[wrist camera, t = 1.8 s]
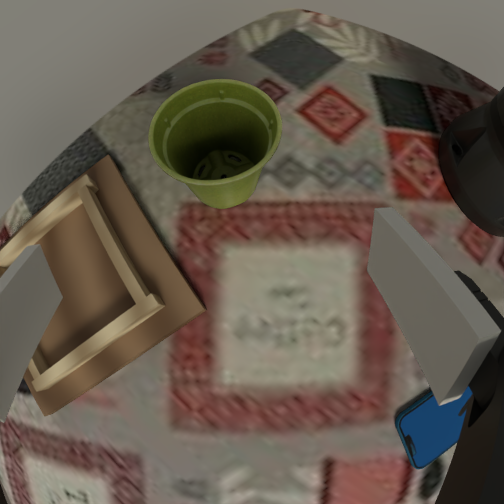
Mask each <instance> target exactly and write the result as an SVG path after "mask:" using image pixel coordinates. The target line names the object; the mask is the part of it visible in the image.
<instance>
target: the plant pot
mask: <svg viewBox="0 0 504 504" xmlns="http://www.w3.org/2000/svg"><path fill="white" fill-rule="evenodd" d="M281 134H282V119H281V116H280V113H279V110H278V108H277V106H276V105H275V103H274V102H273V101H272V99H271V98H270V97H269V96H268V95H267V94H265V93H264V92H263V91H262V90H260V89H258V88H257V87H255V86H252V85H250V84H247V83H244V82H241V81H236V80H231V79H213V80H206V81H201V82H198V83H194V84H191V85H189V86H186V87H184V88H182V89H180V90H179V91H177V92H176V93H174V94H173V95H171V96H170V97H169V98H168V99H167V100H166V101H165V102H163V104H162V105H161V106H160V107H159V109H158V110H157V112H156V113H155V115H154V117H153V119H152V121H151V124H150V128H149V134H148V141H149V147H150V151H151V154H152V156H153V158H154V160H155V162H156V163H157V164H158V166H159V167H160V168H161V169H162V170H163V171H164V172H165V173H167V174H168V175H169V176H171V177H173V178H174V179H176V180H178V181H181V182H183V183H185V184H186V185H187V186H188V187H189V188H190V189H191V191H192V192H193V193H194V194H195V195H196V196H197V197H198V199H199V200H200V201H202V202H203V203H205V204H206V205H208V206H210V207H214V208H219V209H225V208H230V207H233V206H236V205H238V204H241V203H243V202H245V201H246V200H247V199H248V198H249V197H250V196H251V195H252V193H253V192H254V190H255V188H256V185H257V182H258V179H259V176H260V172H261V170H262V167H263V166H264V165H265V164H266V163H267V162H268V161H269V160H270V159H271V157H272V156H273V154H274V153H275V151H276V149H277V147H278V145H279V142H280V139H281ZM230 155H232V156H236V157H238V158H240V159H241V162H238V161H236V160H234V159H230V158H228V156H230ZM203 165H206V167H205V168H204V170H203V171H202V173H201V175H200V177H199V176H198V172H199V170H200V168H201V167H202V166H203ZM223 174H225V175H226V176H227V177H226V178H225V179H221V176H222V175H223Z"/></svg>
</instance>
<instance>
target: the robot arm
mask: <svg viewBox="0 0 504 504" xmlns="http://www.w3.org/2000/svg"><path fill="white" fill-rule="evenodd" d="M439 159H440V165H441V169H442V173H443V176H444V179H445V181H446V184H447V186H448V188H449V190H450V192H451V194H452V196H453V198H454V199H455V201H456V203H457V204H458V205H459V207H460V208H461V210H462V211H463V212H464V213H465V215H466V216H467V217H468V218H469V219H470V220H471V221H472V222H473V223H474V224H475V225H477V226H478V227H479V228H481V229H482V230H484V231H485V232H487V233H489V234H492V235H495V236H499V237H504V87H503V88H502V89H501V90H500V92H499V93H498V94H497V95H496V96H495V97H494V99H493V100H492V101H491V102H489V103H487V104H485V105H482V106H480V107H478V108H476V109H473V110H471V111H469V112H466V113H464V114H462V115H460V116H458V117H457V118H455V119H454V120H453V121H452V122H451V124H450V125H449V126H448V127H447V128H446V130H445V131H444V132H443V134H442V136H441V139H440V144H439ZM367 271H368V273H369V275H370V276H371V278H372V280H373V281H374V283H375V285H376V286H377V288H378V290H379V292H380V293H381V295H382V297H383V298H384V300H385V302H386V304H387V306H388V307H389V309H390V311H391V313H392V314H393V316H394V318H395V320H396V322H397V323H398V325H399V327H400V329H401V331H402V333H403V335H404V336H405V338H406V340H407V342H408V344H409V346H410V348H411V350H412V352H413V354H414V355H415V357H416V359H417V361H418V363H419V365H420V367H421V369H422V371H423V373H424V375H425V377H426V379H427V381H428V384H429V386H430V388H431V390H432V392H433V394H434V396H435V398H436V400H437V403H438V405H439V406H440V405H443V404H446V403H448V402H451V401H454V400H456V399H459V398H460V397H461V396H462V394H463V393H464V391H465V390H466V388H467V387H468V386H469V388H470V390H471V391H472V393H473V394H472V395H471V397H470V398H469V399H468V401H467V402H466V403H465V405H464V406H463V407H462V409H461V410H460V412H459V414H458V415H459V416H462V414H463V413H464V412H465V411H466V414H465V418H464V421H463V425H462V429H461V432H460V436H459V439H458V442H457V446H456V449H455V452H454V455H453V458H452V461H451V464H450V466H449V469H448V472H447V475H446V477H445V480H444V483H443V485H442V488H441V490H440V492H439V495H438V497H437V500H436V502H435V504H504V318H503V316H502V315H501V314H500V313H499V311H498V310H497V309H496V308H495V306H494V305H493V304H492V303H491V301H490V300H489V301H488V298H487V297H486V295H485V294H484V293H483V292H481V289H480V288H479V287H478V286H477V285H476V284H475V282H474V281H473V280H472V279H471V278H469V277H468V276H466V275H465V274H463V273H462V272H460V271H453V270H452V269H451V268H450V267H449V266H448V264H447V263H446V262H445V261H444V260H443V259H442V258H441V257H440V256H439V254H438V253H437V252H436V251H435V250H434V249H433V248H432V247H431V246H430V245H429V244H428V243H427V241H426V240H425V239H424V238H423V237H422V236H421V235H420V234H419V233H418V232H417V231H416V230H415V229H414V228H413V227H412V226H411V225H410V224H409V223H408V222H407V221H406V220H405V219H404V218H403V217H402V216H401V215H400V214H399V213H398V212H397V211H396V210H395V209H394V208H393V207H390V208H375V211H374V221H373V229H372V238H371V245H370V253H369V260H368V267H367ZM62 299H63V296H62V294H61V292H60V290H59V288H58V286H57V283H56V281H55V279H54V277H53V274H52V272H51V270H50V267H49V265H48V263H47V260H46V258H45V256H44V253H43V251H42V248H41V245H40V244H37V245H30V246H27V247H26V248H25V249H24V250H23V251H22V252H21V254H20V255H19V256H18V257H17V258H16V259H15V261H14V262H13V263H12V264H11V265H10V267H9V268H8V269H7V270H6V271H5V273H4V274H3V275H2V276H1V278H0V421H1V422H5V420H6V417H7V415H8V412H9V409H10V407H11V404H12V402H13V399H14V397H15V394H16V392H17V390H18V387H19V385H20V383H21V380H22V378H23V376H24V373H25V371H26V369H27V367H28V365H29V362H30V360H31V358H32V356H33V354H34V352H35V350H36V348H37V346H38V344H39V342H40V340H41V338H42V336H43V334H44V332H45V330H46V328H47V326H48V324H49V322H50V320H51V318H52V317H53V315H54V313H55V311H56V309H57V307H58V306H59V304H60V302H61V300H62ZM466 409H467V410H466ZM0 504H7V501H6V499H5V496H4V494H3V490H2V487H1V484H0Z"/></svg>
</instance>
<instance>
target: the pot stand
mask: <svg viewBox="0 0 504 504" xmlns="http://www.w3.org/2000/svg"><path fill="white" fill-rule="evenodd" d="M37 244H40V245H41V248H42V251H43V253H44V256H45V258H46V260H47V263H48V265H49V267H50V270H51V272H52V274H53V277H54V279H55V281H56V283H57V286H58V288H59V290H60V292H61V294H62V296H63V299H62V300H61V302H60V304H59V306H58V307H57V309H56V311H55V313H54V315H53V317H52V318H51V320H50V322H49V324H48V326H47V328H46V330H45V332H44V334H43V336H42V338H41V340H40V342H39V344H38V346H37V348H36V350H35V352H34V354H33V356H32V358H31V360H30V362H29V365H28V367H27V369H26V371H25V373H24V376H23V377H24V379H25V381H26V383H27V385H28V387H29V389H30V391H31V393H32V395H33V397H34V399H35V400H36V402H37V404H38V406H39V408H40V409H41V411H42V413H43V415H44V416H48V415H50V414H53V413H55V412H56V411H58V410H59V409H61V408H62V407H64V406H65V405H67V404H68V403H70V402H71V401H73V400H75V399H76V398H78V397H79V396H81V395H82V394H84V393H85V392H87V391H88V390H90V389H91V388H93V387H94V386H96V385H97V384H99V383H100V382H102V381H103V380H105V379H106V378H108V377H109V376H111V375H112V374H114V373H115V372H117V371H118V370H120V369H121V368H123V367H124V366H126V365H127V364H129V363H130V362H132V361H133V360H135V359H136V358H138V357H139V356H141V355H142V354H143V353H145V352H146V351H148V350H149V349H151V348H152V347H154V346H155V345H157V344H158V343H160V342H161V341H163V340H164V339H165V338H167V337H168V336H170V335H171V334H173V333H174V332H176V331H177V330H179V329H180V328H181V327H183V326H184V325H186V324H187V323H189V322H190V321H192V320H193V319H194V318H196V317H197V316H199V315H200V314H202V313H203V312H205V311H206V310H207V309H206V308H205V306H204V305H203V304H202V302H201V301H200V299H199V298H198V296H197V295H196V293H195V292H194V290H193V289H192V287H191V286H190V284H189V283H188V281H187V280H186V278H185V277H184V275H183V274H182V272H181V271H180V269H179V268H178V266H177V265H176V263H175V261H174V260H173V258H172V257H171V255H170V254H169V252H168V251H167V249H166V247H165V246H164V244H163V243H162V241H161V239H160V238H159V236H158V235H157V233H156V231H155V230H154V228H153V227H152V225H151V223H150V222H149V220H148V218H147V217H146V215H145V214H144V212H143V210H142V209H141V207H140V205H139V204H138V202H137V200H136V199H135V197H134V195H133V193H132V192H131V190H130V188H129V187H128V185H127V183H126V182H125V180H124V178H123V176H122V175H121V173H120V171H119V169H118V168H117V166H116V164H115V162H114V161H113V159H112V158H111V157H110V156H109V155H107V156H106V157H104V158H103V159H101V160H100V161H99V162H97V163H96V164H95V165H93V166H92V167H91V168H90V169H88V170H87V171H86V172H84V173H83V174H82V175H81V176H79V177H78V178H77V179H75V180H74V181H73V182H72V183H71V184H69V185H68V186H67V187H66V188H64V189H63V190H62V191H61V192H60V193H58V194H57V195H56V196H55V197H54V198H53V199H51V200H50V201H49V202H48V203H47V204H46V205H45V206H43V207H42V208H41V209H40V210H39V211H38V212H37V213H36V214H35V215H33V216H32V217H31V218H30V219H29V220H28V221H27V222H26V223H25V224H24V225H23V226H22V227H21V228H20V229H19V230H18V231H17V232H16V233H15V234H14V235H13V236H12V237H11V238H10V239H9V240H8V241H7V242H6V243H5V244H4V245H3V246H2V247H1V248H0V278H1V276H2V275H3V274H4V273H5V271H6V270H7V269H8V268H9V267H10V265H11V264H12V263H13V262H14V261H15V259H16V258H17V257H18V256H19V255H20V254H21V252H22V251H23V250H24V249H25V248H26V247H27V246H30V245H37Z"/></svg>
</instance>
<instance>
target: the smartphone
mask: <svg viewBox="0 0 504 504" xmlns="http://www.w3.org/2000/svg"><path fill="white" fill-rule="evenodd" d="M472 394H473V393H472V391H471V390H470V388H469V386H468V387H467V388H466V390H465V391H464V393H463V394H462V396H461V397H460V398H459V399H456V400H454V401H451V402H448V403H446V404H443V405H440V406H439V405H438V403H437V400H436V398H435V396H434V394H433V392H432V391H431V392H430V393H428V394H427V395H425V396H424V397H423V398H421V399H420V400H418V401H417V402H416V403H414V404H413V405H411V406H410V407H409V408H407V409H406V410H404V411H403V412H401V413H400V414H399V415H398V417H397V418H396V421H395V426H396V428H397V431H398V433H399V436H400V438H401V440H402V443H403V445H404V448H405V450H406V453H407V455H408V458H409V460H410V463H411V465H412V466H413V467H414V468H416V469H422V468H424V467H426V466H427V465H429V464H430V463H431V462H433V461H434V460H435V459H437V458H438V457H439V456H441V455H442V454H443V453H444V452H446V451H447V450H448V449H450V448H451V447H452V446H453V445H454V444H456V443H457V442H458V439H459V436H460V432H461V429H462V425H463V421H464V418H465V414H466V411H465V412H464V413H463V414H462V416H459V415H458V414H459V412H460V410H461V409H462V407H463V406H464V405H465V403H466V402H467V401H468V399H469V398H470V397H471V395H472ZM466 410H467V409H466Z"/></svg>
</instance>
